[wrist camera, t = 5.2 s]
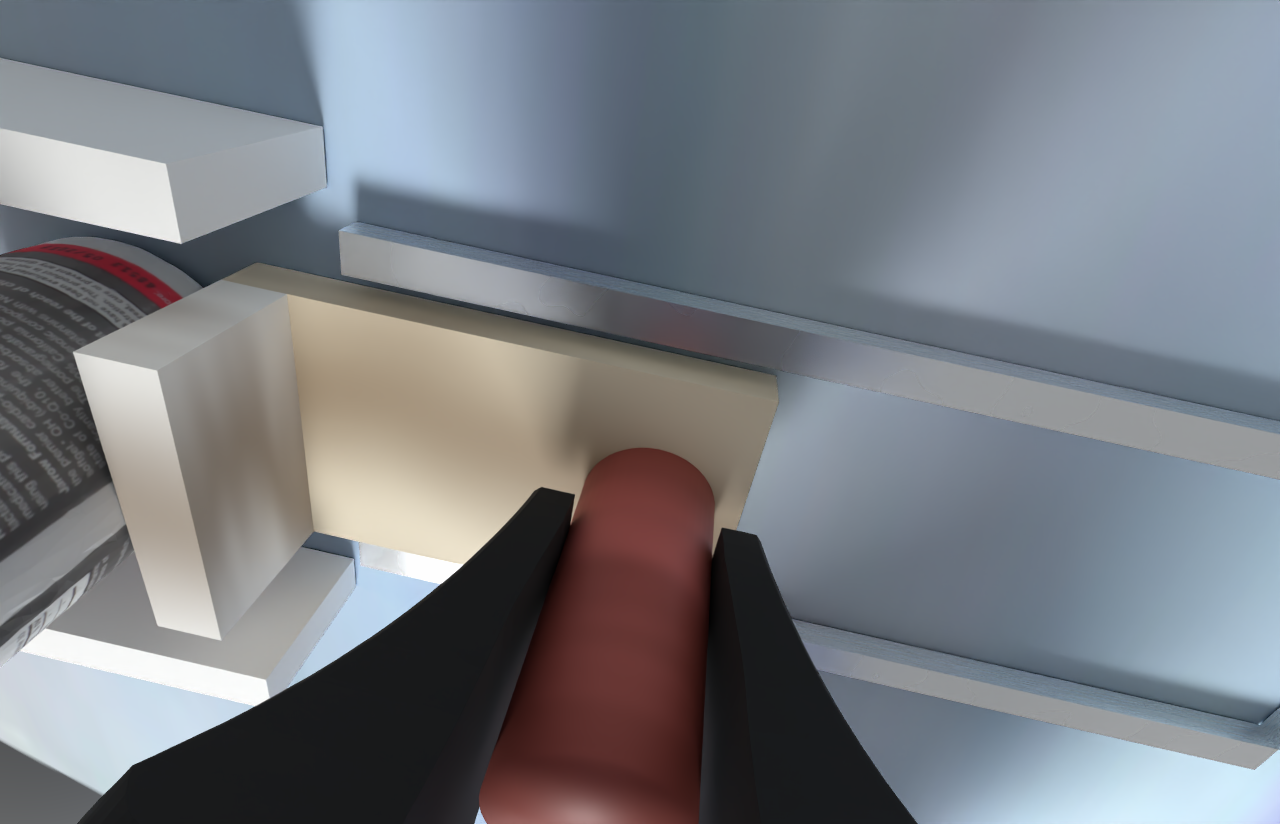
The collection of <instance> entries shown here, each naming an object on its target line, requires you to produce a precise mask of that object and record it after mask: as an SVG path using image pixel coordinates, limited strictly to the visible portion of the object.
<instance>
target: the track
mask: <svg viewBox="0 0 1280 824" xmlns="http://www.w3.org/2000/svg"><path fill="white" fill-rule="evenodd" d="M339 246H340V261H341V275H345V276H349V277H354V278H359V279H363V280H368V281H372V282H377V283H381V284H386V285H391V286H395V287H400V288H404V289H409V290H414V291H418V292H423V293H427V294H432V295H436V296H441V297H446V298H450V299H455V300H459V301H464V302H469V303H473V304H478V305H482V306H487V307H491V308H496V309H501V310H505V311H510V312H514V313H519V314H523V315H528V316H533V317H537V318H542V319H546V320H551V321H556V322H560V323H565V324H569V325H574V326H578V327H583V328H588V329H592V330H597V331H601V332H606V333H611V334H615V335H620V336H624V337H629V338H633V339H638V340H643V341H647V342H652V343H656V344H661V345H666V346H670V347H675V348H679V349H684V350H688V351H693V352H698V353H702V354H707V355H711V356H716V357H720V358H725V359H730V360H734V361H739V362H743V363H748V364H753V365H757V366H762V367H766V368H771V369H775V370H780V371H785V372H789V373H794V374H798V375H803V376H808V377H812V378H817V379H821V380H826V381H830V382H835V383H840V384H844V385H849V386H853V387H858V388H863V389H867V390H872V391H876V392H881V393H885V394H890V395H895V396H899V397H904V398H908V399H913V400H917V401H922V402H927V403H931V404H936V405H940V406H945V407H950V408H954V409H959V410H963V411H968V412H972V413H977V414H982V415H986V416H991V417H995V418H1000V419H1005V420H1009V421H1014V422H1018V423H1023V424H1027V425H1032V426H1037V427H1041V428H1046V429H1050V430H1055V431H1059V432H1064V433H1069V434H1073V435H1078V436H1082V437H1087V438H1092V439H1096V440H1101V441H1105V442H1110V443H1114V444H1119V445H1124V446H1128V447H1133V448H1137V449H1142V450H1147V451H1151V452H1156V453H1160V454H1165V455H1169V456H1174V457H1179V458H1183V459H1188V460H1192V461H1197V462H1202V463H1206V464H1211V465H1215V466H1220V467H1224V468H1229V469H1234V470H1238V471H1243V472H1247V473H1252V474H1256V475H1261V476H1266V477H1270V478H1275V479H1279V480H1280V421H1275V420H1271V419H1266V418H1262V417H1257V416H1252V415H1248V414H1243V413H1238V412H1234V411H1229V410H1225V409H1220V408H1215V407H1211V406H1206V405H1201V404H1197V403H1192V402H1188V401H1183V400H1178V399H1174V398H1169V397H1165V396H1160V395H1155V394H1151V393H1146V392H1141V391H1137V390H1132V389H1128V388H1123V387H1118V386H1114V385H1109V384H1104V383H1100V382H1095V381H1091V380H1086V379H1081V378H1077V377H1072V376H1067V375H1063V374H1058V373H1054V372H1049V371H1044V370H1040V369H1035V368H1030V367H1026V366H1021V365H1017V364H1012V363H1007V362H1003V361H998V360H993V359H989V358H984V357H980V356H975V355H970V354H966V353H961V352H957V351H952V350H947V349H943V348H938V347H933V346H929V345H924V344H920V343H915V342H910V341H906V340H901V339H896V338H892V337H887V336H883V335H878V334H873V333H869V332H864V331H859V330H855V329H850V328H846V327H841V326H836V325H832V324H827V323H822V322H818V321H813V320H809V319H804V318H799V317H795V316H790V315H786V314H781V313H776V312H772V311H767V310H762V309H758V308H753V307H749V306H744V305H739V304H735V303H730V302H725V301H721V300H716V299H712V298H707V297H702V296H698V295H693V294H688V293H684V292H679V291H675V290H670V289H665V288H661V287H656V286H651V285H647V284H642V283H638V282H633V281H628V280H624V279H619V278H615V277H610V276H605V275H601V274H596V273H591V272H587V271H582V270H578V269H573V268H568V267H564V266H559V265H554V264H550V263H545V262H541V261H536V260H531V259H527V258H522V257H517V256H513V255H508V254H504V253H499V252H494V251H490V250H485V249H480V248H476V247H471V246H467V245H462V244H457V243H453V242H448V241H443V240H439V239H434V238H430V237H425V236H420V235H416V234H411V233H407V232H402V231H397V230H393V229H388V228H383V227H379V226H374V225H370V224H365V223H360V222H354V223H352V224H350V225H348V226H346V227H344V228H342V229H340V230H339ZM359 550H360V566H363V567H368V568H372V569H377V570H381V571H385V572H390V573H394V574H399V575H403V576H407V577H412V578H416V579H420V580H425V581H429V582H434V583H438V584H441V583H443V582H444V581H445V580H446V579H447V578H448V577H450V576H451V575H452V574H453V573H454V572H456V571H457V570H458V569H459V568H460V567H461V566H463V565H459V564H455V563H450V562H446V561H442V560H437V559H433V558H428V557H424V556H420V555H415V554H411V553H406V552H402V551H398V550H393V549H389V548H384V547H380V546H376V545H371V544H367V543H362V542H359ZM792 621H793V623H794V625H795V627H796V629H797V631H798V633H799V636H800V638H801V640H802V642H803V644H804V646H805V648H806V650H807V652H808V654H809V656H810V658H811V660H812V662H813V664H814V666H815V668H816V669H817V670H819V671H824V672H828V673H833V674H837V675H841V676H846V677H850V678H855V679H859V680H863V681H868V682H872V683H877V684H881V685H885V686H890V687H894V688H898V689H903V690H907V691H912V692H916V693H920V694H925V695H929V696H934V697H938V698H942V699H947V700H951V701H955V702H960V703H964V704H969V705H973V706H977V707H982V708H986V709H991V710H995V711H999V712H1004V713H1008V714H1012V715H1017V716H1021V717H1026V718H1030V719H1034V720H1039V721H1043V722H1048V723H1052V724H1056V725H1061V726H1065V727H1069V728H1074V729H1078V730H1083V731H1087V732H1091V733H1096V734H1100V735H1105V736H1109V737H1113V738H1118V739H1122V740H1126V741H1131V742H1135V743H1140V744H1144V745H1148V746H1153V747H1157V748H1162V749H1166V750H1170V751H1175V752H1179V753H1183V754H1188V755H1192V756H1197V757H1201V758H1205V759H1210V760H1214V761H1219V762H1223V763H1227V764H1232V765H1236V766H1240V767H1245V768H1249V769H1254V770H1255V769H1256V768H1257V767H1259V766H1260V765H1261V764H1262V763H1263V762H1264V761H1266V760H1267V759H1268V758H1269V757H1270V756H1272V755H1273V754H1274V753H1275V752H1276V751H1277V750H1280V708H1278V709H1277V710H1276V711H1275V712H1274V713H1273V714H1272V715H1271V716H1269V717H1268V718H1267V719H1266V720H1265V721H1264V722H1263V723H1262V724H1261V725H1258V724H1254V723H1250V722H1245V721H1241V720H1236V719H1232V718H1227V717H1223V716H1219V715H1214V714H1210V713H1205V712H1201V711H1197V710H1192V709H1188V708H1183V707H1179V706H1174V705H1170V704H1166V703H1161V702H1157V701H1152V700H1148V699H1144V698H1139V697H1135V696H1130V695H1126V694H1121V693H1117V692H1113V691H1108V690H1104V689H1099V688H1095V687H1091V686H1086V685H1082V684H1077V683H1073V682H1069V681H1064V680H1060V679H1055V678H1051V677H1046V676H1042V675H1038V674H1033V673H1029V672H1024V671H1020V670H1016V669H1011V668H1007V667H1002V666H998V665H993V664H989V663H985V662H980V661H976V660H971V659H967V658H963V657H958V656H954V655H949V654H945V653H940V652H936V651H932V650H927V649H923V648H918V647H914V646H910V645H905V644H901V643H896V642H892V641H888V640H883V639H879V638H874V637H870V636H865V635H861V634H857V633H852V632H848V631H843V630H839V629H835V628H830V627H826V626H821V625H817V624H812V623H808V622H804V621H799V620H795V619H792Z"/></svg>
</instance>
